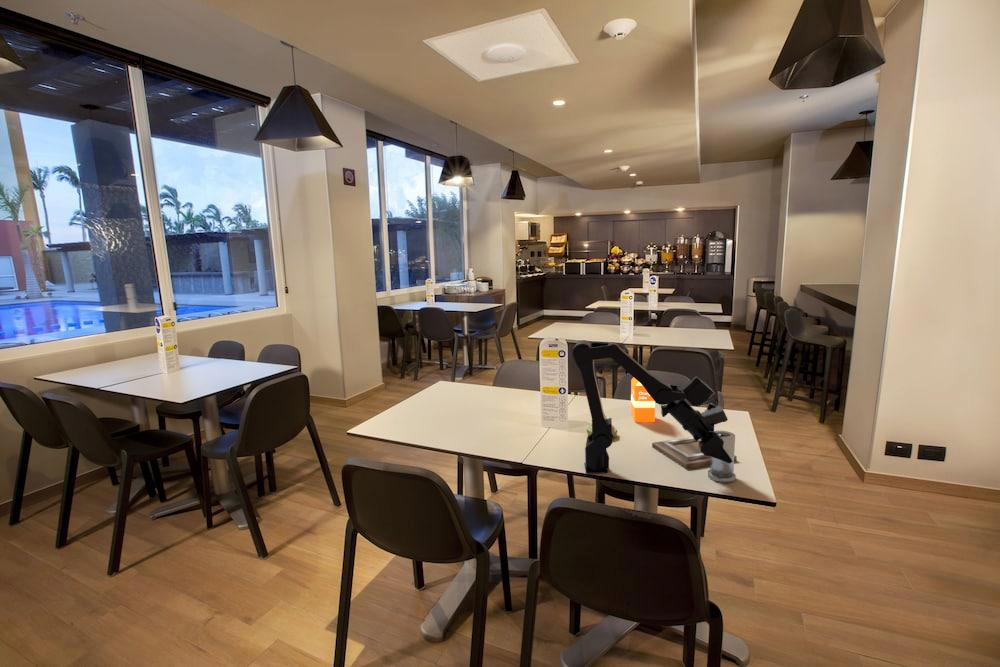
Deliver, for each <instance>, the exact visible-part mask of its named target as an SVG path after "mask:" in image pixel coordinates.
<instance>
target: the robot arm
mask: <svg viewBox="0 0 1000 667" xmlns="http://www.w3.org/2000/svg"><path fill="white" fill-rule="evenodd" d="M572 357H573V360H574V363H575V364H576V366H577V368H578V370H579V372H580V374H581V377H582V381H583V382H582V383H583V386H584V391H585V395H586V399H587V403H588V407H589V408H588V409H589V412H590V416H591V424H592V434H591V435H588V436H587V437H586V442H585V447H584V463H583V464H584V469H585V473H586V474H608V473H609V469H610V461H609V460H610V456H609V453H608V450H607V449H608V448H610V447H611V446H612V444H613V439H612V437H613V438H614V428H613V427H612V425H613V423H612V419H613V418H612V417H609V418H607V416H606V415H605V412H604V408H603V403H602V399H601V394H600V390H599V386H598V380H597V376H596V372H595V360H596V361H597V360H604V359H611V360H612V361H614V362H616V364H618V365H619V366H620V367H621V368H622V369H624V371H625V372H627V373H628V374H629V375H631V376H632V378H633V377H634V378H635V379H636V380H637V381H639V382H640V383H641V384H642V385H643V387H644V388H645V389H646V391H647V392H648V393H649V395H650V396H651V397H652V398H653V400H654V401H655V404H657V405H660V408H661V409H660V410H661V411H660V413H661V416H662V417H663V418H664V417H666V416H667V415H668V414H669V415H670V416H672V418H674V420H675V421H676V422H678V423H679V425H681V426H682V429H683V430H684V432H685V431H686V432H688V433H689V434H690V436H691V437H693V438H694V439H695V440H696V441H697V440H698V439H701V441H700V442H699V449H700V451H701V452H702V453H703V454H704V455H705V456H711V457H714V458H717V459H719V460H722V461H725V462H727V463H731V462H732V459H731V458H730V456H729V455H728V454H727V452H726V451H725V449H724V448H723V444H724V441H723V439H722V438H721V437H720V436H719V435H718V434H717V433H716V432H713V431H715V425H718V424H721V423H726V422H728V419H729V418H728V417H727V414H726V412H725V411H724V409H723V407H722V406H720V405H719V404H718V405H717V406H716V405H715V404H714V403H713V402H710V403H707V404H706V409H705V410H704V411H703V412H701V411H700V410H697V409H694V407H701V406H702V405H703V404H705V403H706V402H707V400H709V399H710V398H711V397H712V396H714V395H715V394H716V392H715V391H714V390H713V389H712V388H711V387H710V385H708V384H707V383H706V382H705V381H703V380H702V379H701V378H699V377H698V376H693V378H692V379H691V380H690V381H689V382H688V383H687V384H686V385H684V386H683V387H682V386H681V385H676V384H670V383H669V382H667V381H666V380H665V379H663V378H661V377H660V376H658V375H656V374H653V373H651V372H650V371H649V370H647V369H646V368H645V367H644V366H643V365H641V364H640V363H639V362H638V361H636V360H635V359H634V358H633V357H632V356H631V355H630V354H629V353H627V352H626V351H625V350H624V349H623V348H622V347H620V344H618V343H616V342H614V341H613V342H612V341H611V342H590V341H589V340H584V339H582V340H579V341H578V342H577V343H576V344H575V345H574V347H573V349H572ZM692 406H693V407H692ZM614 439H615V438H614Z"/></svg>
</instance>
